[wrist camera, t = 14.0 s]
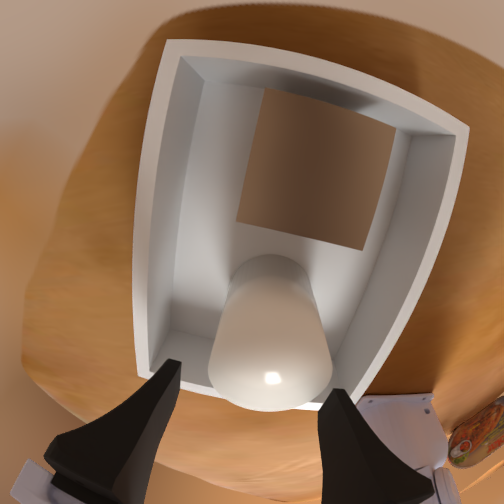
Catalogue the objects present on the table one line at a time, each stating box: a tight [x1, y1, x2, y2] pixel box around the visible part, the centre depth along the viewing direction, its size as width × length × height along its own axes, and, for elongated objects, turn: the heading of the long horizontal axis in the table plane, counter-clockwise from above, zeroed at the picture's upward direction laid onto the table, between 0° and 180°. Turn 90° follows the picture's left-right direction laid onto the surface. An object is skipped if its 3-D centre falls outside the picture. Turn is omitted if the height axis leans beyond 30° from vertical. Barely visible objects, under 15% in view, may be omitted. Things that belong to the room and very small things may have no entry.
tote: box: [132, 39, 470, 410], centre depth 13 cm, size 14×18×5 cm
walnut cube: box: [236, 87, 396, 251], centre depth 11 cm, size 5×5×5 cm
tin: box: [447, 396, 504, 469], centre depth 20 cm, size 15×3×8 cm, turn 119°
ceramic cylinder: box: [208, 254, 333, 412], centre depth 13 cm, size 5×5×7 cm
